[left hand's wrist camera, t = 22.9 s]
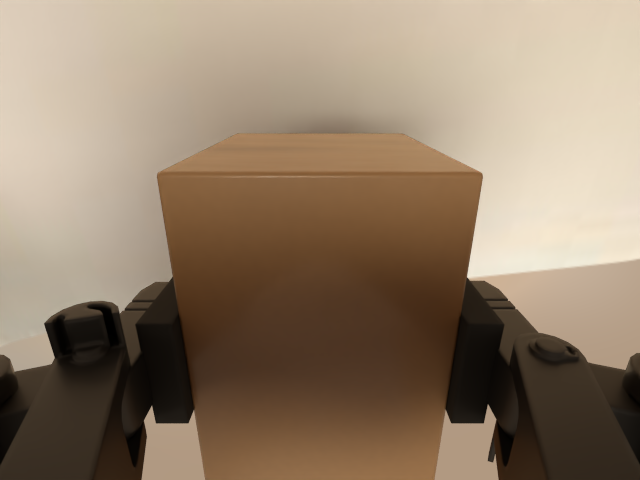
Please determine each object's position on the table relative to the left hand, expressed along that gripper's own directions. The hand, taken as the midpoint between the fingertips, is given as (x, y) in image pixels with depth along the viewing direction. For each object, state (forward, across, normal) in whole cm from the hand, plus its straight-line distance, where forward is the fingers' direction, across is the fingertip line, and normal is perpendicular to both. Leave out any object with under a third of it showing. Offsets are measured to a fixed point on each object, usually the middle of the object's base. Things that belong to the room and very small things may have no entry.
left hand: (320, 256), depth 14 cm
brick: (+1, 0, 0) cm, 1 cm away
